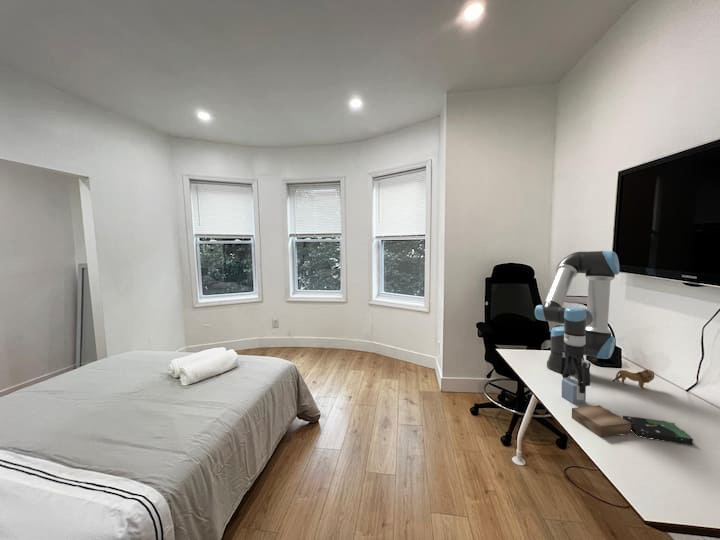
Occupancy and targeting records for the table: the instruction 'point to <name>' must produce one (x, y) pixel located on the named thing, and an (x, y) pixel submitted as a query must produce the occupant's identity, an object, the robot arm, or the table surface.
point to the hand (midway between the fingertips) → (573, 395)
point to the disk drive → (658, 430)
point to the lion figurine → (636, 377)
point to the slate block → (571, 391)
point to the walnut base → (601, 421)
